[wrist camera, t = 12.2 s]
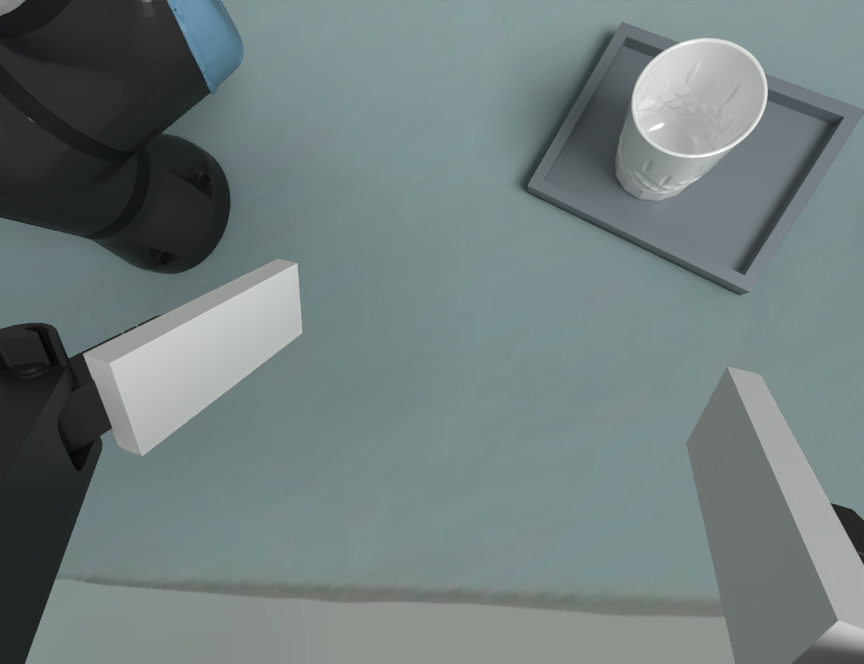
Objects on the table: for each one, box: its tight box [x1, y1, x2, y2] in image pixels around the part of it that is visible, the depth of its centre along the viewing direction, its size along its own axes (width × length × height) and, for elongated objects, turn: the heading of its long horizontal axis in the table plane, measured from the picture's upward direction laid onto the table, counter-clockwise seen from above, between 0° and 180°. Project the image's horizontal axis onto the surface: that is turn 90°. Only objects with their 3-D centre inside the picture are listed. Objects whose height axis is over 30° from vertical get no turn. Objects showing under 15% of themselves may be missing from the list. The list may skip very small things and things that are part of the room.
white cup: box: [615, 38, 768, 201], centre depth 33 cm, size 8×8×10 cm
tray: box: [527, 22, 864, 295], centre depth 37 cm, size 20×16×2 cm
